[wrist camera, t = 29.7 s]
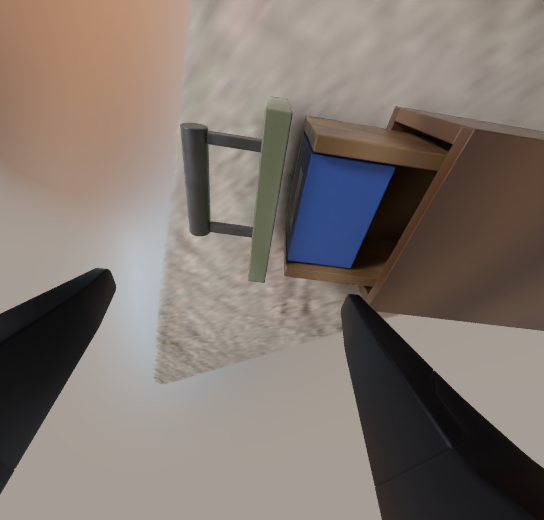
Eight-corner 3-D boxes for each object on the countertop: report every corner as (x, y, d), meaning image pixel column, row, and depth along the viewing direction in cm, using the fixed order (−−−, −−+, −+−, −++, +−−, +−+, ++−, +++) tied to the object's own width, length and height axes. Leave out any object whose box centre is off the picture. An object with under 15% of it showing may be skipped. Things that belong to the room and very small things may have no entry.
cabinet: (341, 242, 24) (366, 310, 17) (395, 106, 16) (474, 128, 10) (478, 261, 25) (554, 332, 18) (585, 139, 17) (779, 180, 11)
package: (303, 133, 16) (311, 153, 12) (368, 144, 16) (396, 167, 12) (285, 224, 20) (286, 260, 16) (337, 231, 21) (350, 268, 17)
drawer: (204, 224, 22) (179, 273, 16) (197, 84, 15) (153, 89, 10) (394, 249, 23) (429, 303, 17) (463, 129, 16) (551, 155, 11)
